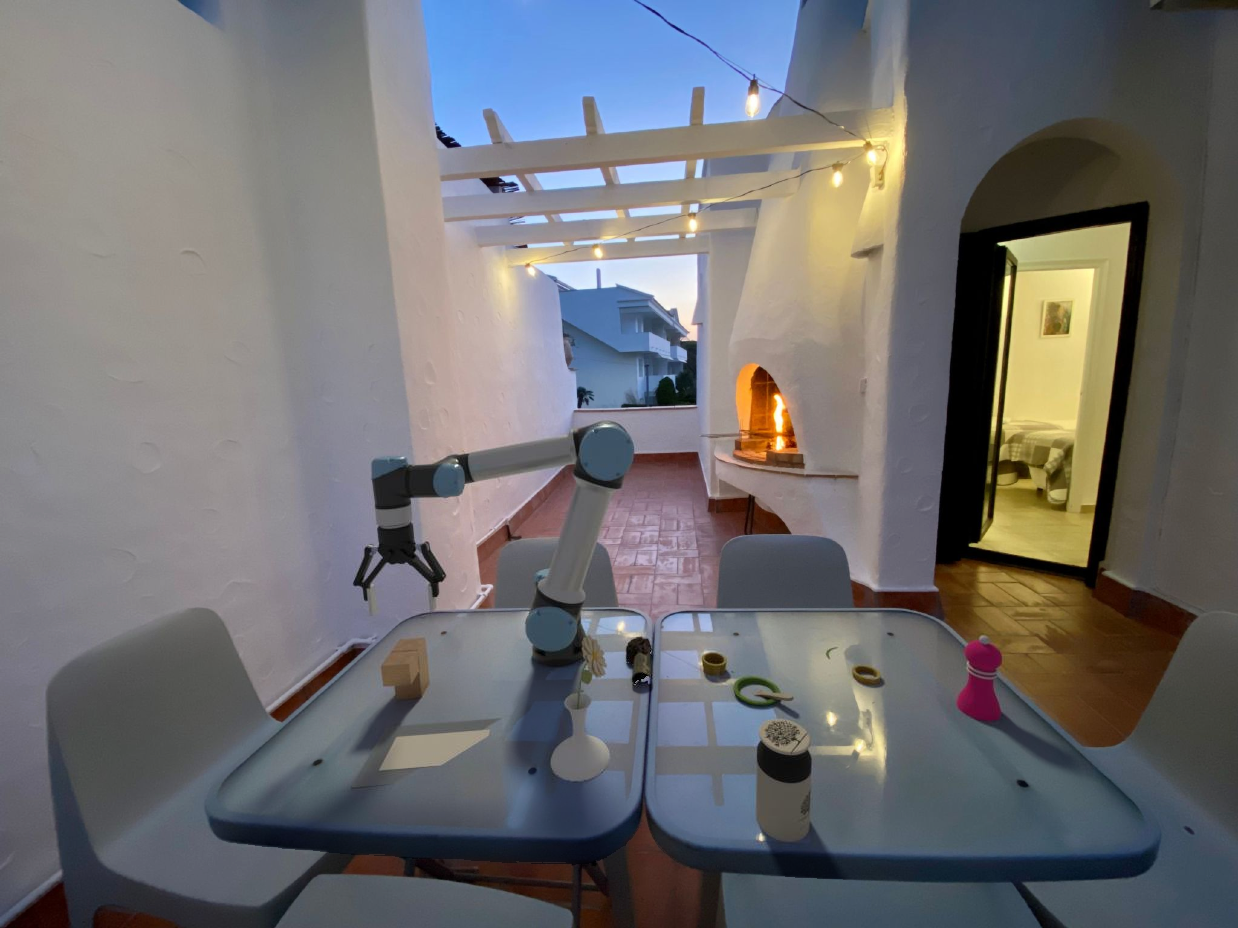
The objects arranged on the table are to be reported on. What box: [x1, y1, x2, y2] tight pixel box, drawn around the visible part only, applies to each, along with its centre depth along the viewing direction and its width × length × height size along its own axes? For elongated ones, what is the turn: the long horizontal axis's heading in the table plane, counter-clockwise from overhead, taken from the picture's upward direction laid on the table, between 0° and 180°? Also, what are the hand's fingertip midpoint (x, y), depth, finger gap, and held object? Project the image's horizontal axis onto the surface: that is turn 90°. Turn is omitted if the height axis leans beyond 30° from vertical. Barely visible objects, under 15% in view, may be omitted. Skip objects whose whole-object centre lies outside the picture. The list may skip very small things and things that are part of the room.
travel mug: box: [755, 718, 813, 843], centre depth 76 cm, size 8×8×18 cm
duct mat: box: [350, 717, 502, 789], centre depth 98 cm, size 26×16×1 cm, turn 94°
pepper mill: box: [956, 634, 1003, 722], centre depth 99 cm, size 7×7×20 cm
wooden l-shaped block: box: [380, 637, 431, 701], centre depth 115 cm, size 6×12×12 cm, turn 4°
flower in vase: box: [550, 634, 611, 782], centre depth 92 cm, size 13×11×25 cm
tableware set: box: [701, 646, 882, 707], centre depth 116 cm, size 41×28×6 cm
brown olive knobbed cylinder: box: [625, 636, 653, 685], centre depth 124 cm, size 18×7×6 cm, turn 176°
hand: (403, 611), depth 115 cm, fingers open, 13 cm apart
